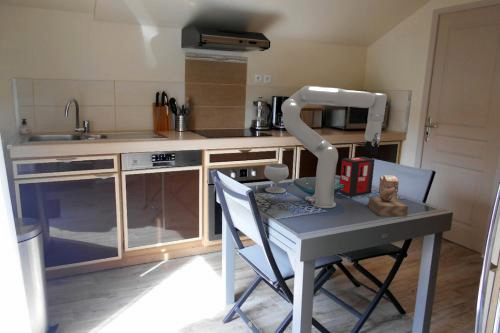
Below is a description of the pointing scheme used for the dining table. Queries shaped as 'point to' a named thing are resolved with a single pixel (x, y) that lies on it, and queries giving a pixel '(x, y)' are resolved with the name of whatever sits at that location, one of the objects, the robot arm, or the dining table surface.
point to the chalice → (276, 176)
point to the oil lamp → (387, 194)
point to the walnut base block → (388, 207)
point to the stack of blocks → (389, 183)
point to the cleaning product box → (356, 176)
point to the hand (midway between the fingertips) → (370, 152)
